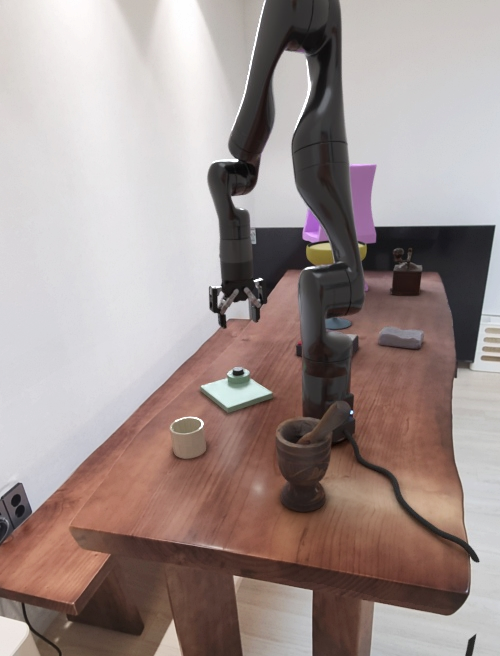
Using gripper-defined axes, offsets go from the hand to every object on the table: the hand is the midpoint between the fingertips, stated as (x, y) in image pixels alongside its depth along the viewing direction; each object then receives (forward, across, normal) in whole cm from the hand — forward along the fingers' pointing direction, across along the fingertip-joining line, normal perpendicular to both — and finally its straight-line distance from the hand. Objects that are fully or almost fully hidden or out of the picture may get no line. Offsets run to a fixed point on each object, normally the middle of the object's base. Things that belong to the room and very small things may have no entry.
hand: (239, 324), depth 114 cm
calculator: (+14, +27, +1) cm, 30 cm away
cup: (+13, -23, -27) cm, 38 cm away
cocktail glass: (+14, +42, +20) cm, 49 cm away
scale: (+13, -6, -10) cm, 18 cm away
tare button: (+11, -3, -5) cm, 12 cm away
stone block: (+14, +49, -5) cm, 51 cm away
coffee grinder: (+15, +84, +34) cm, 92 cm away
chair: (+16, +69, +58) cm, 91 cm away
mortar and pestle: (+12, -11, -51) cm, 54 cm away
